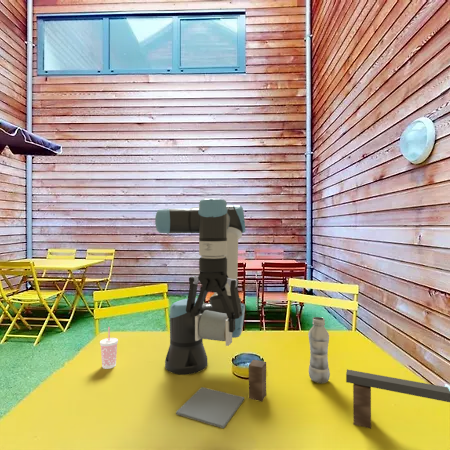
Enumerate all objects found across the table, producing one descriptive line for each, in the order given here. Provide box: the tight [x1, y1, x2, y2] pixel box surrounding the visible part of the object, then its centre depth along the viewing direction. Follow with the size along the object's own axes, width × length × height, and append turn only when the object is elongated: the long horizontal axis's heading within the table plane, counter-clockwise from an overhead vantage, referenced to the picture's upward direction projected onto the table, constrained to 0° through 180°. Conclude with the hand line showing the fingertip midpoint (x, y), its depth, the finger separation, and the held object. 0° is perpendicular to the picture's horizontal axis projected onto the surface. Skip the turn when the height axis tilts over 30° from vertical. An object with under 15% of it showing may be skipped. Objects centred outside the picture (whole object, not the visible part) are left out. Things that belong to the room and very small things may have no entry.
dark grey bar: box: [345, 368, 450, 403], centre depth 76 cm, size 22×3×2 cm, turn 65°
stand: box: [248, 359, 372, 429], centre depth 85 cm, size 32×4×10 cm, turn 65°
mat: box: [175, 386, 245, 429], centre depth 86 cm, size 14×14×1 cm
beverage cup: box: [99, 326, 119, 370], centre depth 111 cm, size 6×6×14 cm
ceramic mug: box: [199, 310, 233, 342], centre depth 87 cm, size 11×8×8 cm
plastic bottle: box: [307, 316, 331, 384], centre depth 100 cm, size 6×7×20 cm
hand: (213, 341), depth 83 cm, fingers closed on ceramic mug, 8 cm apart
